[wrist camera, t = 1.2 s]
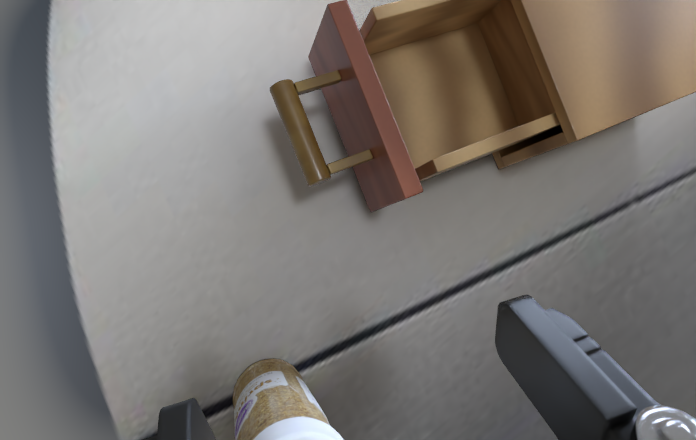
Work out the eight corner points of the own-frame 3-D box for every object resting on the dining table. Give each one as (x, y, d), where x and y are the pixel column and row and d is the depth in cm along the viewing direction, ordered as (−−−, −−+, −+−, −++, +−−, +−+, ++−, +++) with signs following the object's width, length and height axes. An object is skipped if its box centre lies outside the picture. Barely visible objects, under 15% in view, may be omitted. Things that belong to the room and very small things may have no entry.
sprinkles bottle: (240, 353, 28) (248, 428, 15) (310, 362, 29) (375, 438, 16) (225, 429, 27) (221, 575, 14) (298, 435, 28) (355, 576, 15)
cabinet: (498, 169, 34) (577, 140, 26) (437, 16, 34) (498, -58, 26) (634, 113, 38) (738, 74, 30) (580, -24, 38) (669, -98, 30)
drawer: (313, 235, 29) (335, 227, 23) (248, 73, 29) (253, 21, 23) (526, 149, 34) (590, 124, 28) (470, 10, 34) (522, -46, 28)
